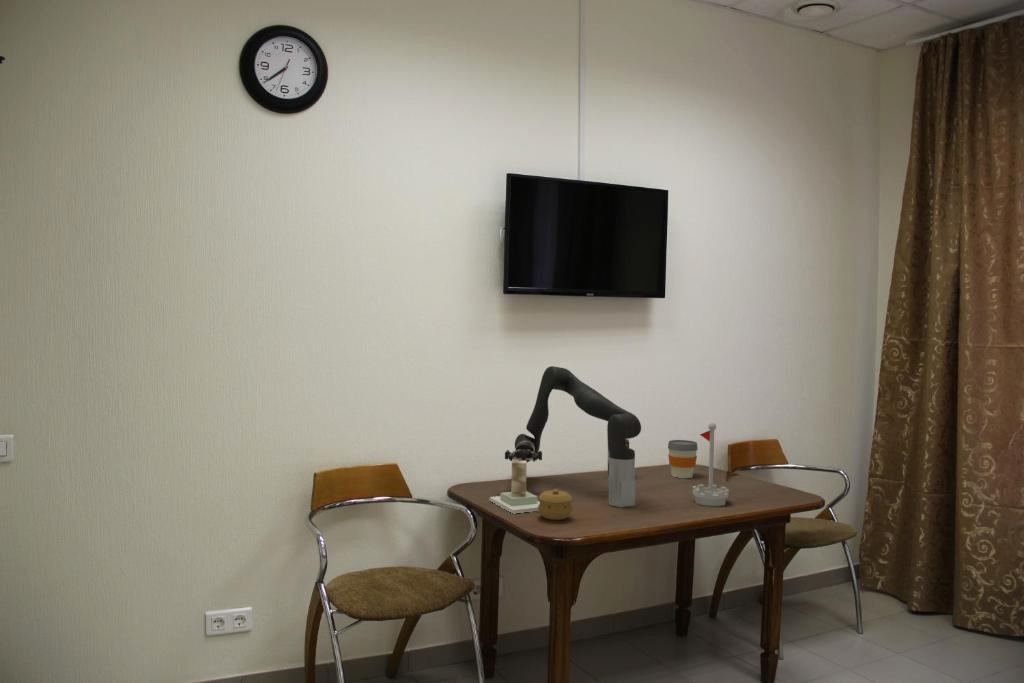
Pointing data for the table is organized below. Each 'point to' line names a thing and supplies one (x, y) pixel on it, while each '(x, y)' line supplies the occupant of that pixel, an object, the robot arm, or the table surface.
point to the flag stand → (710, 479)
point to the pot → (555, 504)
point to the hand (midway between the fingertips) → (522, 458)
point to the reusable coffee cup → (682, 457)
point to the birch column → (518, 478)
